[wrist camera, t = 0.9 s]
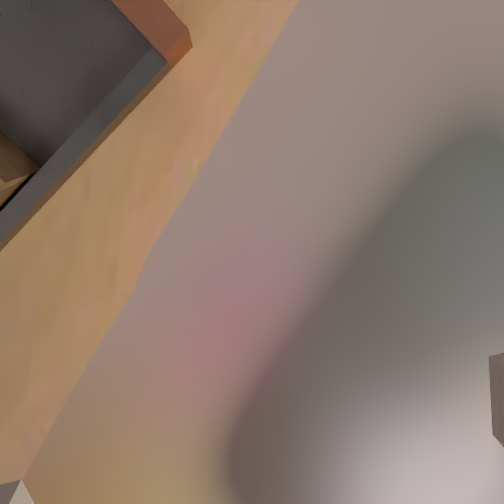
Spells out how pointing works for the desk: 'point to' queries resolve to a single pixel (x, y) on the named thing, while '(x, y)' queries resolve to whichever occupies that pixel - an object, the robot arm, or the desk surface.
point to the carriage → (13, 170)
